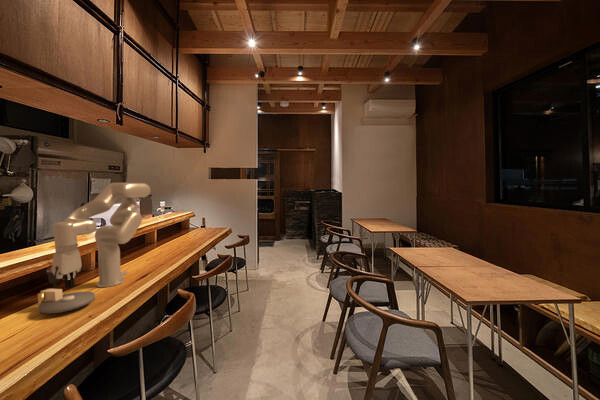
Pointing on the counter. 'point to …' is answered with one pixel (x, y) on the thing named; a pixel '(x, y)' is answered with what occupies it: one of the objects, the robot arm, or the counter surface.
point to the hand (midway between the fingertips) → (69, 287)
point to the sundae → (52, 277)
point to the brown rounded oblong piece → (43, 300)
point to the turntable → (64, 300)
